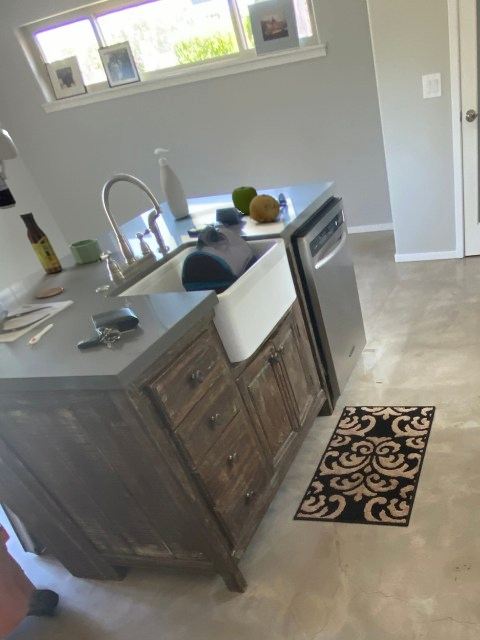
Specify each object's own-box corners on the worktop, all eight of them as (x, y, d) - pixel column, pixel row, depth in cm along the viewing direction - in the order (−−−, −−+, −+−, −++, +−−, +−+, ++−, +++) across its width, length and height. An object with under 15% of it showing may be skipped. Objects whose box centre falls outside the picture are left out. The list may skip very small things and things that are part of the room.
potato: (257, 219, 221) (250, 193, 214) (285, 217, 218) (279, 190, 211) (249, 226, 213) (242, 199, 207) (277, 224, 211) (271, 196, 204)
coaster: (33, 300, 173) (32, 299, 173) (39, 291, 180) (38, 290, 180) (60, 294, 174) (60, 293, 174) (65, 286, 181) (65, 285, 181)
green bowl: (75, 265, 201) (67, 248, 197) (79, 258, 208) (72, 242, 204) (101, 260, 202) (93, 243, 198) (104, 253, 209) (97, 237, 205)
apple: (233, 217, 229) (225, 189, 222) (243, 211, 237) (235, 183, 230) (255, 215, 227) (248, 187, 219) (265, 209, 234) (258, 181, 227)
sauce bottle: (58, 273, 195) (28, 214, 182) (43, 275, 196) (11, 216, 182) (66, 267, 200) (37, 210, 187) (51, 269, 201) (21, 212, 187)
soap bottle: (183, 220, 237) (159, 150, 219) (168, 222, 239) (143, 152, 220) (198, 212, 247) (176, 144, 229) (183, 213, 249) (160, 146, 231)
